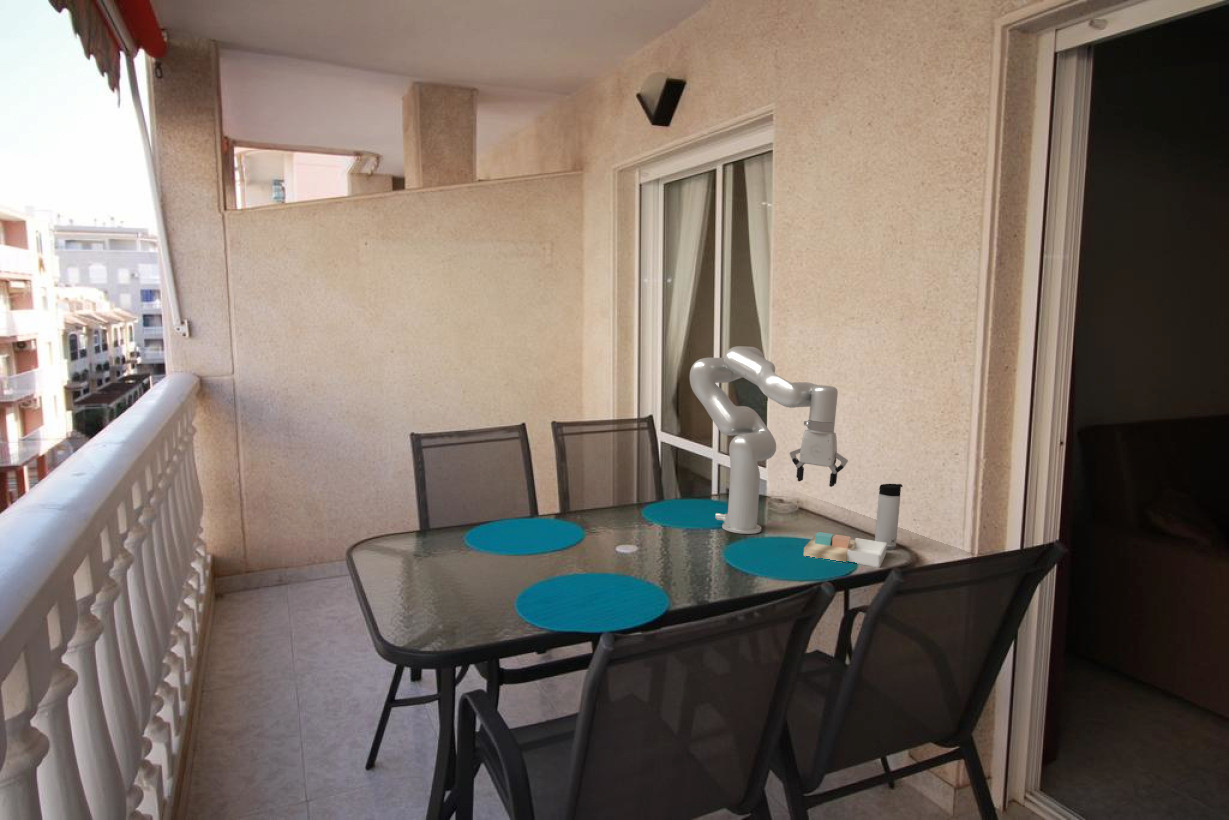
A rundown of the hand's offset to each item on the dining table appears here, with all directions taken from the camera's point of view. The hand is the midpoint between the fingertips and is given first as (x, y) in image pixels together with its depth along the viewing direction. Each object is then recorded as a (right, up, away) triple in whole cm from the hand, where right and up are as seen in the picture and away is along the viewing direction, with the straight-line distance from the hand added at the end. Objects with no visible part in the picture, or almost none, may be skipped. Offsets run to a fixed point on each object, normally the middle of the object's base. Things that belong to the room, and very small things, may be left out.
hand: (815, 483), depth 231 cm
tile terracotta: (+7, -18, -3) cm, 20 cm away
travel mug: (+23, -21, +7) cm, 32 cm away
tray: (+13, -21, -6) cm, 26 cm away
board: (+4, -20, -2) cm, 21 cm away
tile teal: (+2, -18, -1) cm, 18 cm away
